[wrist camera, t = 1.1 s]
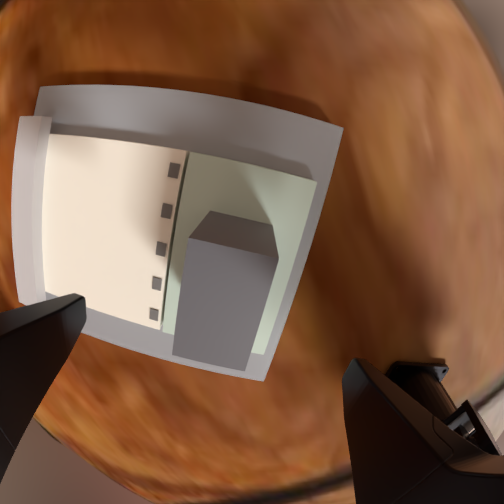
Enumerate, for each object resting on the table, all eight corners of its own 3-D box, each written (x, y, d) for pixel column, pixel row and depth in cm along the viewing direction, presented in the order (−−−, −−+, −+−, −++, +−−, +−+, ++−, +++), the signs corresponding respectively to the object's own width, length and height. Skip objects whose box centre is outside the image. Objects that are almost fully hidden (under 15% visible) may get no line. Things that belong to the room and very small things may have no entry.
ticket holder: (335, 130, 14) (355, 125, 11) (263, 366, 20) (263, 400, 16) (53, 89, 13) (22, 83, 10) (42, 302, 18) (19, 322, 15)
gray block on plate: (314, 180, 14) (345, 196, 9) (263, 346, 17) (264, 413, 12) (193, 151, 13) (158, 152, 8) (166, 324, 17) (137, 384, 12)
